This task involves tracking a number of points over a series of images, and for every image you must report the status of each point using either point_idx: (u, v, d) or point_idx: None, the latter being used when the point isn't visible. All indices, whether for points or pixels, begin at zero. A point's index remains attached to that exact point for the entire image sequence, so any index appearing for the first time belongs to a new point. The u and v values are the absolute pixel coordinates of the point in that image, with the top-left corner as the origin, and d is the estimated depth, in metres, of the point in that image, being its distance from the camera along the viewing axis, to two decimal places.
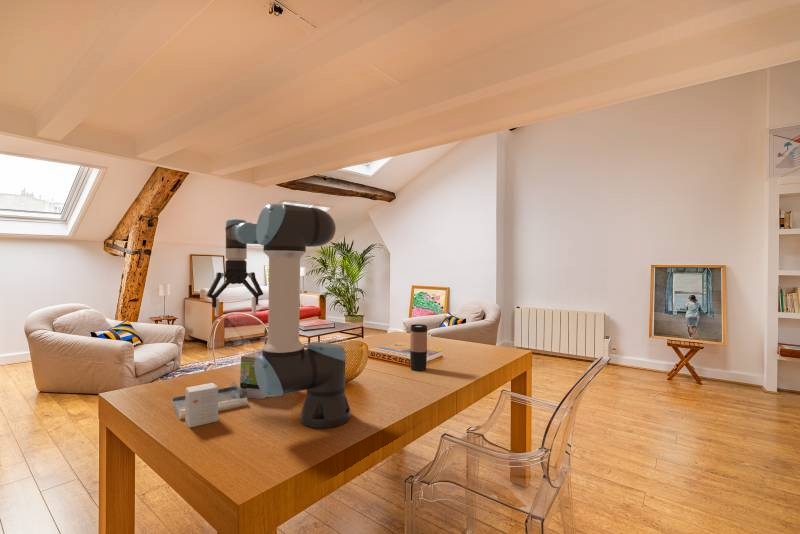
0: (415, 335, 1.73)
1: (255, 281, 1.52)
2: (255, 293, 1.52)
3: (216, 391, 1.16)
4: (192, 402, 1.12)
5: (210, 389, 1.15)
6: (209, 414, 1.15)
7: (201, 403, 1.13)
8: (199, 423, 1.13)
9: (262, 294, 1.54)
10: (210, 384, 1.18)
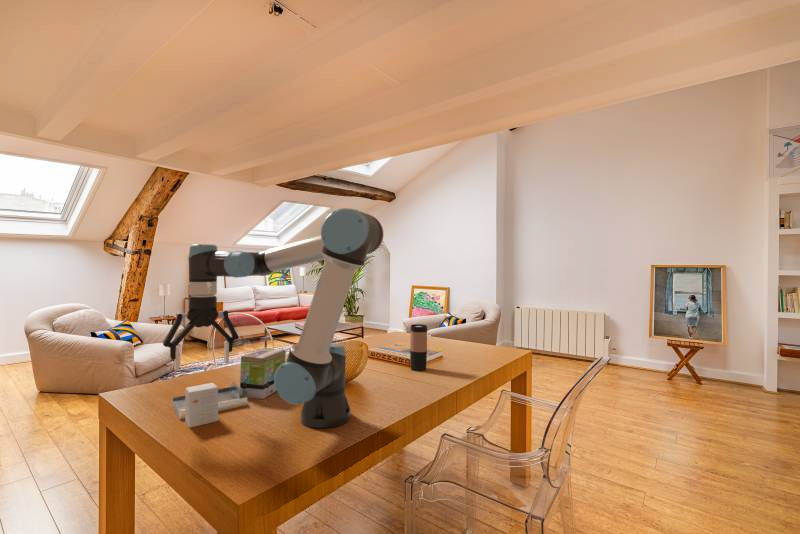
0: (415, 335, 1.73)
1: (228, 322, 1.19)
2: (228, 337, 1.19)
3: (216, 391, 1.16)
4: (191, 402, 1.12)
5: (210, 389, 1.15)
6: (209, 414, 1.15)
7: (201, 403, 1.13)
8: (199, 423, 1.13)
9: (237, 338, 1.21)
10: (210, 384, 1.18)
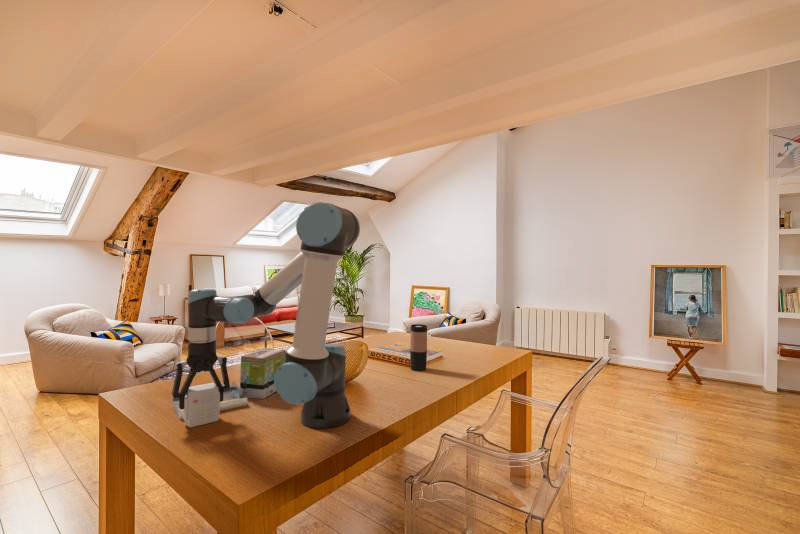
0: (415, 335, 1.73)
1: (224, 369, 1.19)
2: (220, 386, 1.18)
3: (216, 391, 1.16)
4: (191, 402, 1.12)
5: (210, 388, 1.15)
6: (209, 414, 1.15)
7: (201, 403, 1.13)
8: (199, 423, 1.13)
9: (228, 387, 1.19)
10: (210, 384, 1.18)
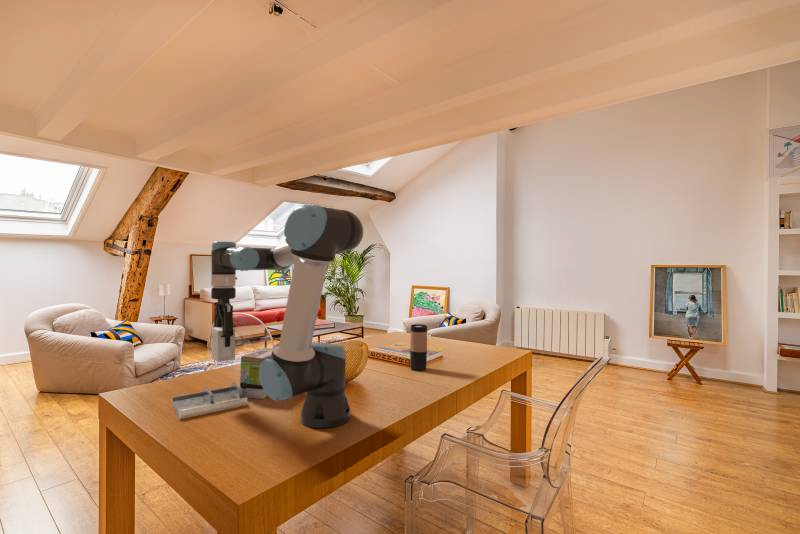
0: (415, 335, 1.73)
1: (224, 317, 1.25)
2: (223, 332, 1.26)
3: (217, 334, 1.27)
4: None
5: (216, 330, 1.28)
6: (215, 353, 1.28)
7: (214, 340, 1.30)
8: (213, 357, 1.30)
9: (224, 335, 1.25)
10: None
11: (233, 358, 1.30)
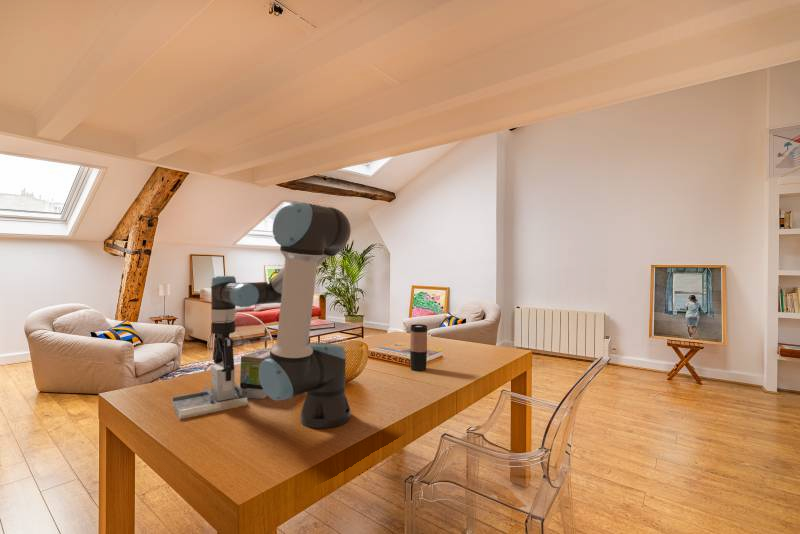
0: (415, 335, 1.73)
1: (224, 351, 1.25)
2: (224, 366, 1.26)
3: (216, 373, 1.27)
4: (211, 374, 1.32)
5: (215, 369, 1.28)
6: (215, 392, 1.29)
7: (213, 378, 1.30)
8: None
9: (225, 370, 1.24)
10: None
11: (232, 397, 1.30)
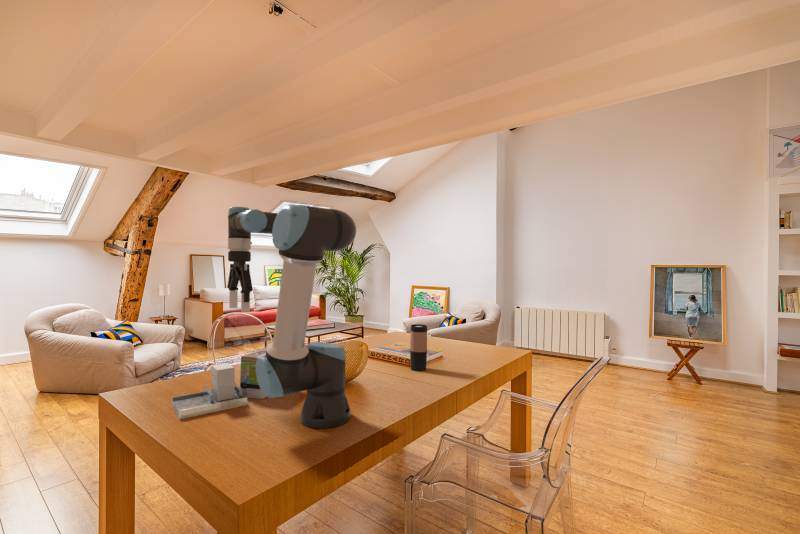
0: (415, 335, 1.73)
1: (242, 274, 1.32)
2: (242, 288, 1.32)
3: (216, 373, 1.27)
4: (211, 374, 1.32)
5: (215, 369, 1.28)
6: (215, 392, 1.29)
7: (213, 378, 1.30)
8: None
9: (244, 290, 1.30)
10: (228, 367, 1.30)
11: (232, 397, 1.30)
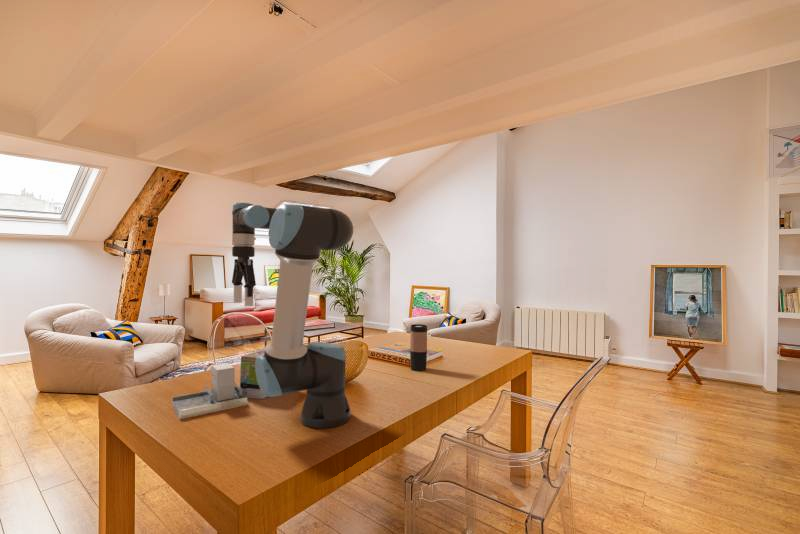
0: (415, 335, 1.73)
1: (246, 269, 1.34)
2: (245, 283, 1.34)
3: (216, 373, 1.27)
4: (211, 374, 1.32)
5: (215, 369, 1.28)
6: (215, 392, 1.29)
7: (213, 378, 1.30)
8: None
9: (248, 285, 1.32)
10: (228, 367, 1.30)
11: (232, 397, 1.30)
